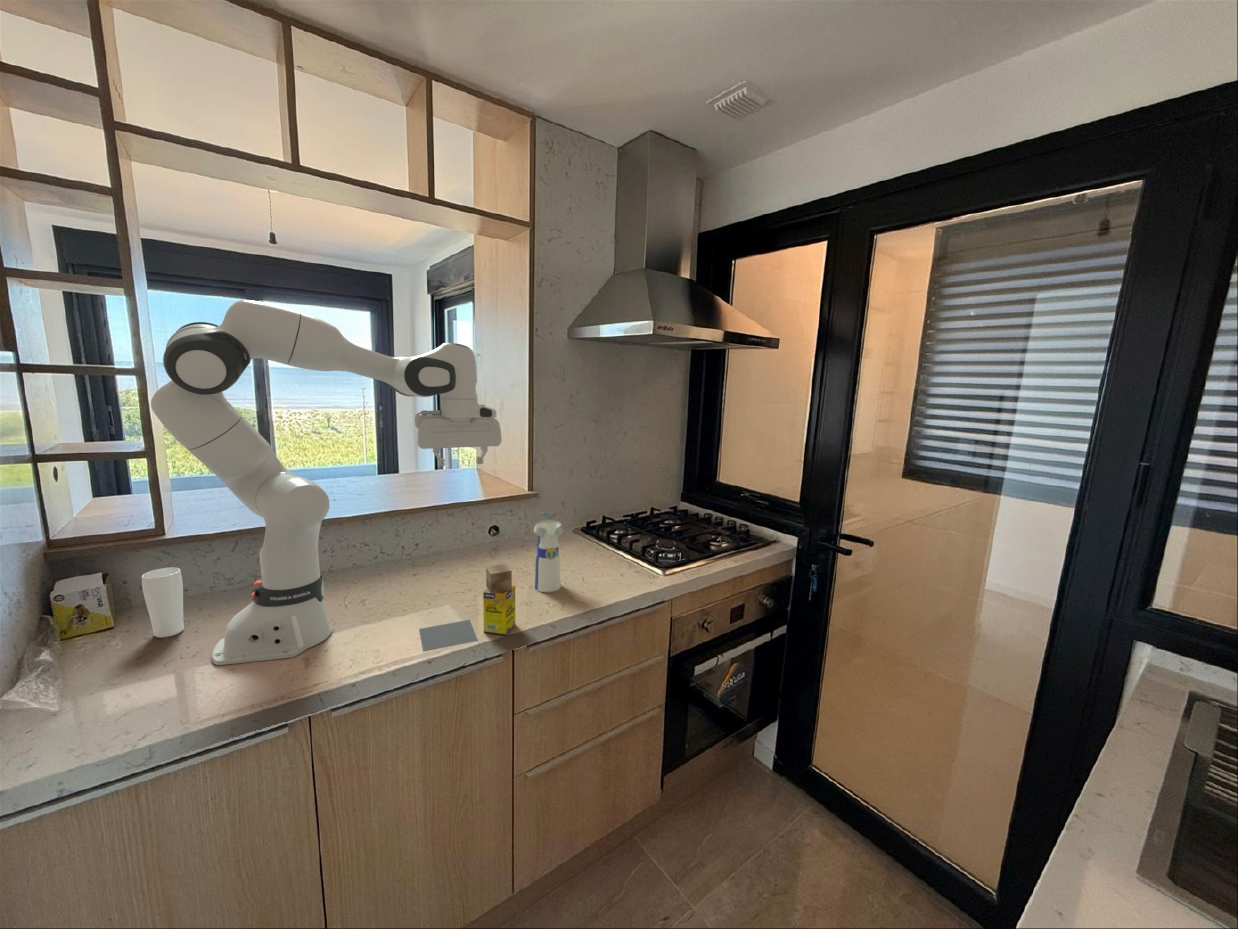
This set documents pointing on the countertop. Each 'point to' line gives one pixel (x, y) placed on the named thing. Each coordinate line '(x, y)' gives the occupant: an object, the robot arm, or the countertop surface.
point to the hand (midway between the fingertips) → (461, 464)
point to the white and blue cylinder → (547, 555)
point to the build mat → (447, 635)
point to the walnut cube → (498, 578)
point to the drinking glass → (164, 600)
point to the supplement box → (499, 612)
